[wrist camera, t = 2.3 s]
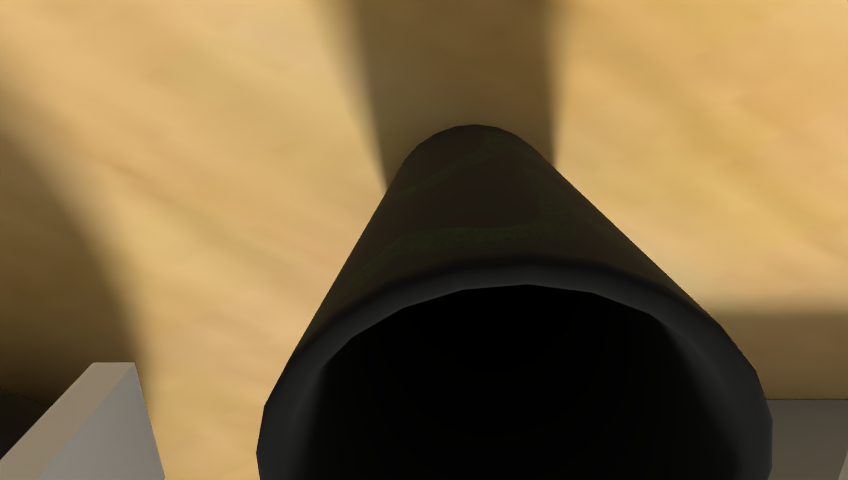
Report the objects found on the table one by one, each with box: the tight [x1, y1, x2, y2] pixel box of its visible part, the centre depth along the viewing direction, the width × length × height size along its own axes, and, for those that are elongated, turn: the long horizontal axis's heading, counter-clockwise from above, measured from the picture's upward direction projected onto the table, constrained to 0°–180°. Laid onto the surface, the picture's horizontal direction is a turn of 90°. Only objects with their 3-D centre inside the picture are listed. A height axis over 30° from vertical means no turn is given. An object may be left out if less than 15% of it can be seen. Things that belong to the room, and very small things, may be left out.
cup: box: [256, 125, 773, 480], centre depth 14 cm, size 8×8×12 cm
